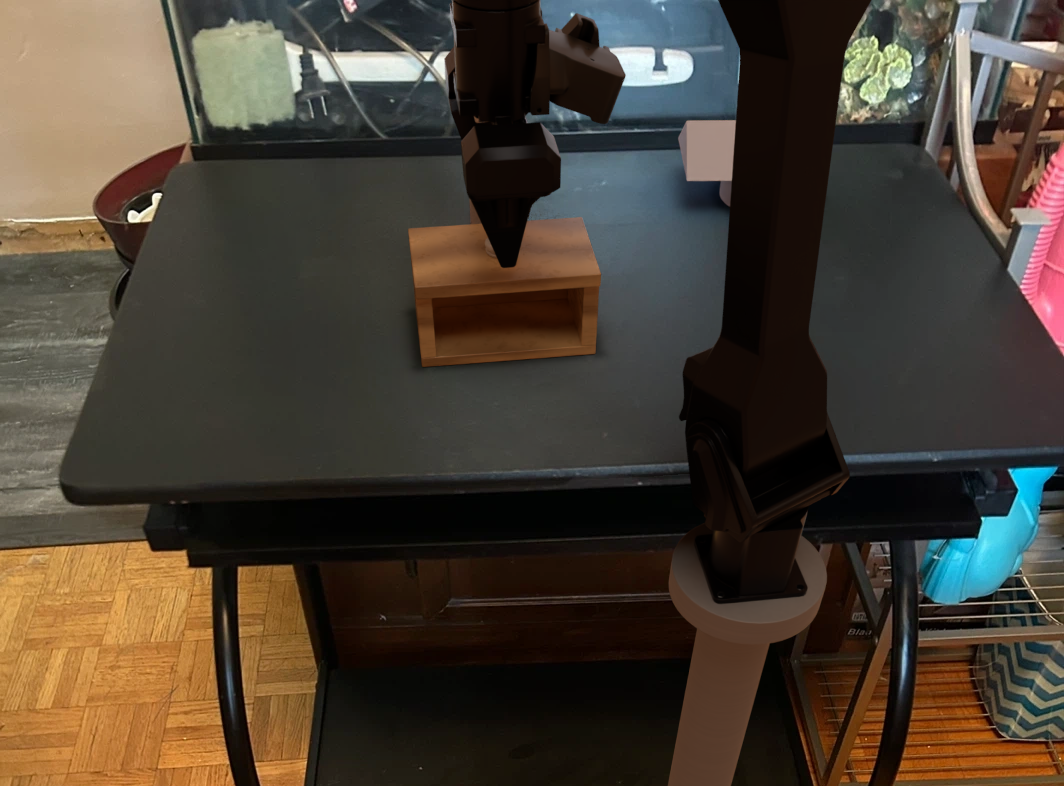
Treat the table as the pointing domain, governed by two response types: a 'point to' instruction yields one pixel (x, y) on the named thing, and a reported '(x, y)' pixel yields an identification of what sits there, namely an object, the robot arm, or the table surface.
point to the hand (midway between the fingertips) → (501, 236)
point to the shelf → (504, 294)
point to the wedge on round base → (709, 152)
